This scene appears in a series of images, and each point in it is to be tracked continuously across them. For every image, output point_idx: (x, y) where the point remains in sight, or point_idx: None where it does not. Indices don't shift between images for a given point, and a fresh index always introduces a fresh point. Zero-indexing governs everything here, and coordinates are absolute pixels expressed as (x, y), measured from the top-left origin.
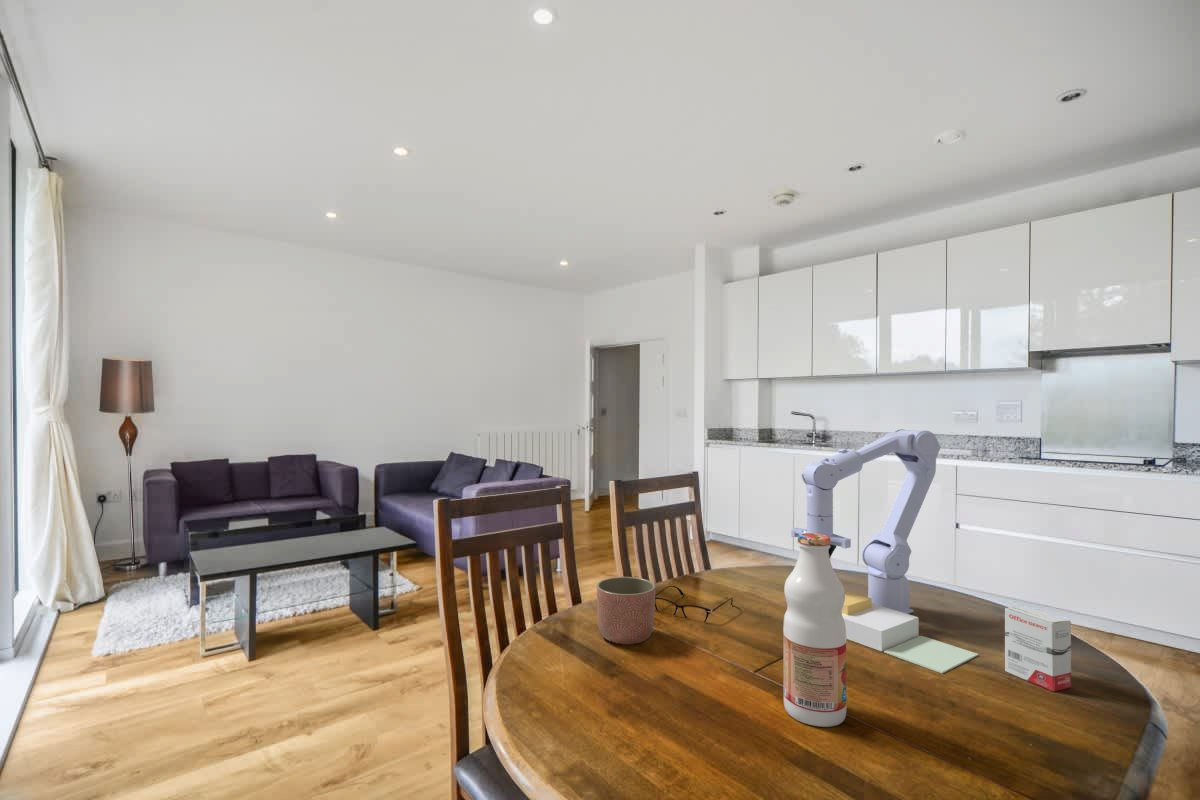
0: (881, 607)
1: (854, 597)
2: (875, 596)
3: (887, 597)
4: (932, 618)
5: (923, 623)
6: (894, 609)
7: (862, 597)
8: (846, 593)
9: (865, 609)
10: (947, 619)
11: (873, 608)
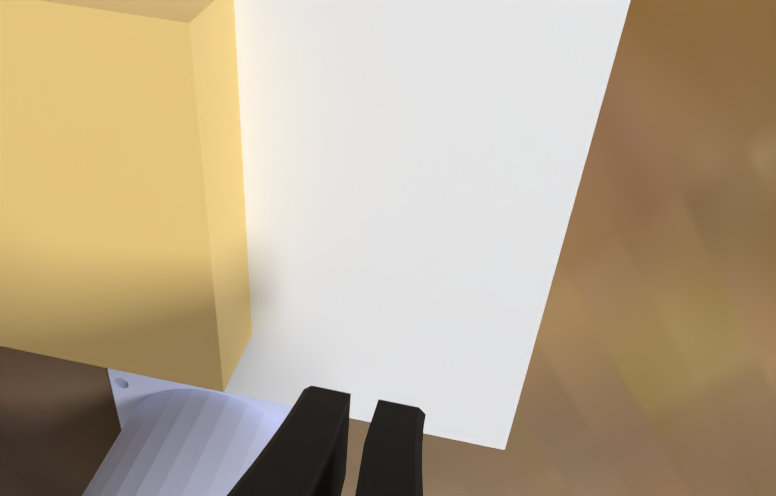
0: None
1: (60, 277)
2: (173, 479)
3: (101, 485)
4: (56, 475)
5: (21, 401)
6: (118, 435)
7: (33, 318)
8: (180, 335)
9: None
10: (21, 493)
11: None
